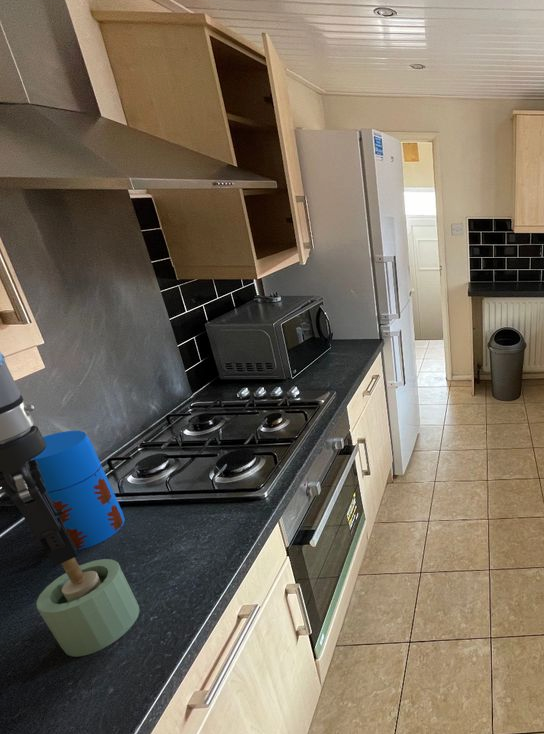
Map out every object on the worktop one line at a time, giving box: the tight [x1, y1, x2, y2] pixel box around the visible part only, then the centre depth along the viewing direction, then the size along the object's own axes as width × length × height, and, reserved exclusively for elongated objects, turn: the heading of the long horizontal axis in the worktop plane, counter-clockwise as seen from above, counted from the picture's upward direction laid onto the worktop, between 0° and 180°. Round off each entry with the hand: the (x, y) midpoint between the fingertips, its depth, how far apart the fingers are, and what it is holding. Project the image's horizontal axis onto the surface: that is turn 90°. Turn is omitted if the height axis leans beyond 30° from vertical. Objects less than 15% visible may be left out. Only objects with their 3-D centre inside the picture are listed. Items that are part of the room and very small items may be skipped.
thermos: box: [31, 430, 126, 551], centre depth 90 cm, size 11×11×25 cm
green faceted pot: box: [35, 558, 140, 658], centre depth 73 cm, size 10×10×11 cm
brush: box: [60, 557, 102, 602], centre depth 69 cm, size 4×4×19 cm
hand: (65, 556), depth 69 cm, fingers closed on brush, 2 cm apart
